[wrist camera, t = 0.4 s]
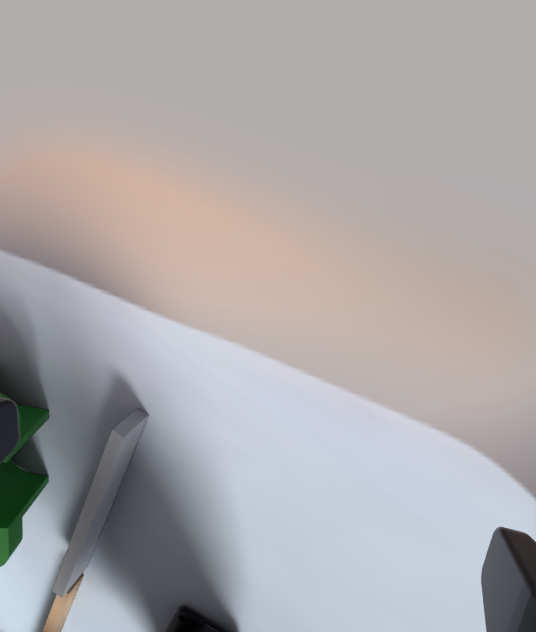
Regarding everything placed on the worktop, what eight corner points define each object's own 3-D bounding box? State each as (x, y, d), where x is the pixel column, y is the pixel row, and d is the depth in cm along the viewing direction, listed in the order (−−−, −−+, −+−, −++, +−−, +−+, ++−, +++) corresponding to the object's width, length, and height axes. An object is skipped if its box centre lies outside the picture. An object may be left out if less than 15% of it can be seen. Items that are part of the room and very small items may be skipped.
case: (87, 566, 30) (61, 598, 28) (-87, 454, 32) (-124, 474, 29) (148, 415, 25) (124, 437, 23) (-61, 291, 27) (-104, 301, 24)
